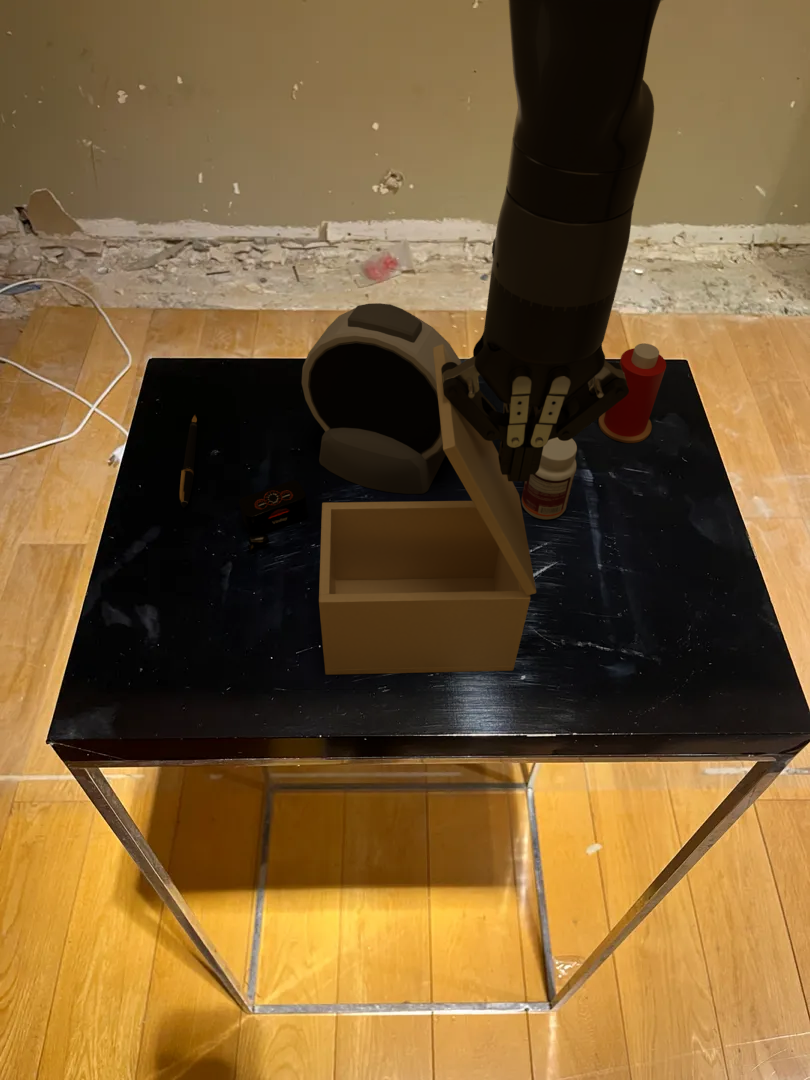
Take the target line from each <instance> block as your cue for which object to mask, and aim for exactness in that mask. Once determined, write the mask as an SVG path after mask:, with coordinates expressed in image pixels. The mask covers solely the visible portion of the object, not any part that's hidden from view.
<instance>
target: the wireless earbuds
mask: <svg viewBox="0 0 810 1080" xmlns="http://www.w3.org/2000/svg"><path fill="white" fill-rule="evenodd" d="M238 504H239V509H240V510H239V511H240V514H241V515H240V516H241V520H242V523H243V525H244V527H245V529H246V531H247V532H248V534H249V538H248V545H247V549H248V551H249V552H250V553H252V552H254V551H256V550H257V547H263V546H266V545H267V544H269V543H270V540H269V536H268V535H267V534H265V533H267V532H269V531H272V530H275V529H278V528H280V527H283V526H286V525H289V524H291V523H294V522H297V521H299V520H302V519H304V518H306V517H307V516H308V503H307V493H306V490H304V488H303V486H302V485H301V484H300V482H299V481H297V480H293V479H292V480H289V481H286V482H283V483H280V484H277V485H275V486H272V487H269V488H266V489H263V490H259V491H258V492H257V491H256V492H255V493H253V494H252V493H251V494H249V495H246V496H243V497H241V498H240V499H239V500H238Z"/></svg>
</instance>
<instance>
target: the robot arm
mask: <svg viewBox="0 0 810 1080" xmlns="http://www.w3.org/2000/svg"><path fill="white" fill-rule="evenodd" d="M663 1H664V0H508V18H509V19H508V20H509V32H510V44H511V59H512V60H511V61H512V72H513V81H514V88H515V93H516V94H515V95H516V103H517V108H516V109H517V110H516V115H515V120H514V126H513V133H512V139H511V146H510V147H511V148H510V155H509V163H508V169H507V170H508V171H507V177H506V178H507V180H506V187H505V193H504V195H503V201H502V203H501V208H500V211H499V215H498V219H497V224H496V229H495V230H496V231H495V237H494V239H493V240H492V246H491V255H492V261H491V269H490V270H491V271H490V278H489V279H490V280H489V286H488V295H487V301H486V302H487V304H486V311H485V318H484V327H483V332H482V334H481V336H480V338H479V339H478V341H477V342H476V343H475V345H474V347H473V349H472V350H473V351H472V353H473V354H472V357H470V358H468V359H466V360H465V361H463V362H461V364H460V365H457V364H456V363H454V362H447V363H445V364H444V365H443V366H442V368H441V372H442V381H443V391H444V395H445V397H446V398H447V399H448V400H449V401H450V402H451V403H452V404H453V406H454V407H455V408H456V409H457V410H458V411H459V412H460V413H461V414H462V415H463V416H464V418H465V419H466V420H467V421H468V422H469V423H470V424H471V425H472V426H473V427H474V429H475V430H476V431H477V432H478V433H479V434H480V435H481V436H482V437H483V438H484V439H485V440H487V441H492V442H493V441H495V440H500V444H499V450H498V454H499V455H498V458H499V464H500V470H501V473H502V475H507V477H508V481H512V482H525V481H528V480H529V475H530V474H536V472H537V471H538V470H539V465H540V461H541V456H542V452H543V447H544V446H545V445H546V444H547V442H548V440H550V439H553V438H557V437H558V439H559V440H561V441H567V440H570V439H573V438H574V437H576V436H577V435H578V434H579V433H581V432H582V431H583V430H584V429H586V428H587V427H589V426H590V425H591V424H592V423H593V422H595V421H597V420H598V419H599V417H600V416H601V415H603V414H604V413H605V412H606V411H608V410H609V409H610V408H612V407H613V406H614V405H615V404H617V403H618V402H619V401H621V400H622V399H623V398H624V397H626V396H627V395H628V393H629V389H628V386H627V381H626V378H625V375H624V372H623V370H622V367H621V365H620V364H619V363H620V362H615V361H614V362H608V361H607V360H606V354H605V352H604V349H603V342H604V340H605V336H606V332H607V328H608V325H609V321H610V317H611V313H612V311H613V310H612V309H613V305H614V301H615V297H616V294H617V289H618V286H619V282H620V278H621V275H622V272H623V271H622V270H623V267H624V262H625V258H626V255H627V252H628V247H629V243H630V237H631V229H632V217H633V211H634V206H635V201H636V197H637V193H638V189H639V186H640V181H641V178H642V174H643V170H644V166H645V161H646V158H647V153H648V150H649V146H650V142H651V136H652V131H653V126H654V119H655V118H654V117H655V101H654V100H655V99H654V95H653V93H652V90H651V88H650V86H649V84H647V82H646V81H645V79H644V76H645V70H646V63H647V58H648V50H649V45H650V41H651V35H652V30H653V27H654V23H655V20H656V17H657V13H658V10H659V7H660V4H661V3H662V2H663ZM479 377H481V379H483V380H484V382H485V383H486V384H487V386H488V387H489V388H490V390H491V391H492V392H493V394H494V395H495V396H496V397H497V398H498V400H499V401H501V402H502V403H503V410H502V411H503V412H500V411H497V410H496V408H495V406H494V405H493V404H492V402H491V401H489V399H488V398H487V397H486V396H485V395H484V393H483V392H482V391H481V390H480V383H479Z"/></svg>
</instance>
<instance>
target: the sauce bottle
mask: <svg viewBox="0 0 810 1080" xmlns="http://www.w3.org/2000/svg"><path fill="white" fill-rule="evenodd" d="M618 363H619V364H620V365H621V367H622V370H623V372H624V375H625V378H626V381H627V386H628V389H629V393H628V395H627V396H626V397H624V398H623V399H622V400H621V401H619V402H618V403H617V404H615V405H614V406H613V407H612V408H610V409H609V410H608V411H606V413H605V417H604V423H605V425H606V427H607V428H608V429H609V430H610V431H612V432H613V433H615V434H618V435H621V436H626V437H632V436H637V435H640V434H641V433H643V432H644V431H645V429H646V426H647V423H648V420H649V419H650V417H651V415H652V411H653V408H654V404H655V403H656V399H657V396H658V393H659V390H660V387H661V384H662V380H663V378H664V375H665V373H666V369H667V361H666V360H665V358H664V357H663V356H662V355H661V354H660V350H659V349H658V348H657V347H656V346H655V345H654V344H651V343H647V342H646V343H644V342H643V343H638V344H637V345H635V346H634V348H630V349H627V350H625V351H624V352H623V353H622V354H621V355H620V359H619V362H618Z"/></svg>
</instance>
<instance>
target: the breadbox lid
mask: <svg viewBox="0 0 810 1080" xmlns="http://www.w3.org/2000/svg"><path fill="white" fill-rule="evenodd" d="M433 355H434V365H435V374H436V384H437V394H438V404H439V413H440V423H441V433H442V443H443V450H444V452H445V454H446V455H445V456H446V457H447V459H448V461H449V463H450V464H451V466H452V468H453V469H454V471H455V473H456V475H457V477H458V479H459V480H460V482H461V484H462V485H463V487H464V489H465V491H466V492H467V494H468V496H469V497H470V499H471V501H473V503H474V504H475V506H476V508H477V510H478V511H479V513H480V515H481V517H482V518H483V520H484V522H485V524H486V525H487V527H488V529H489V531H490V532H491V534H492V536H493V538H494V539H495V541H496V543H497V545H498V546H499V548H500V550H501V552H502V553H503V555H504V557H505V559H506V561H507V562H508V564H509V566H510V568H511V569H512V571H513V573H514V575H515V576H516V578H517V580H518V582H519V583H520V585H521V587H522V589H523V590H524V592H525V594H526V595H527V596H528V595H530V596H531V595H534V594H536V593H537V587H536V583H535V576H534V571H533V565H532V558H531V554H530V548H529V542H528V538H527V530H526V526H525V520H524V516H523V509H522V502H521V498H520V493H519V492H518V490H517V488H516V486H515V483H514V481H508V477H507V475H502V473H501V470H500V464H499V458H498V455H499V451H498V450H497V448H496V446H495V444H494V442H493V441H487V440H485V439H484V438H483V437H482V436H481V435H480V434H479V433H478V432H477V431H476V430H475V429H474V427H473V426H472V425H471V424H470V423H469V422H468V421H467V420H466V419H465V418H464V416H463V415H462V414H461V413H460V412H459V411H458V410H457V409H456V408H455V407H454V406H453V404H452V403H451V402H450V401H449V400H448V399H447V398H446V397H445V395H444V391H443V381H442V372H441V368H442V366H443V365H444V364H445V363H447V362H452V360H451V358H450V356H449V354H448V352H447V350H446V348H445V346H444V345H443V344H442V345H439V346H436V347H434V348H433Z"/></svg>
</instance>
